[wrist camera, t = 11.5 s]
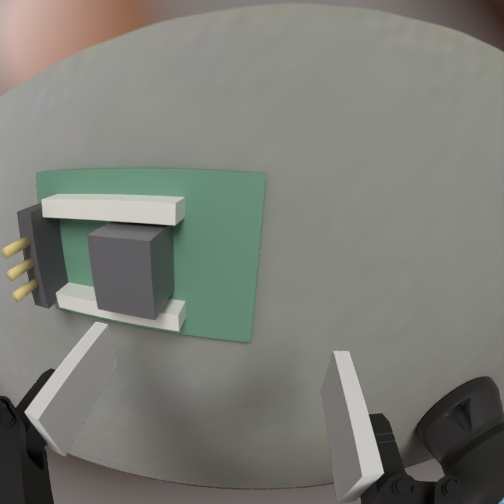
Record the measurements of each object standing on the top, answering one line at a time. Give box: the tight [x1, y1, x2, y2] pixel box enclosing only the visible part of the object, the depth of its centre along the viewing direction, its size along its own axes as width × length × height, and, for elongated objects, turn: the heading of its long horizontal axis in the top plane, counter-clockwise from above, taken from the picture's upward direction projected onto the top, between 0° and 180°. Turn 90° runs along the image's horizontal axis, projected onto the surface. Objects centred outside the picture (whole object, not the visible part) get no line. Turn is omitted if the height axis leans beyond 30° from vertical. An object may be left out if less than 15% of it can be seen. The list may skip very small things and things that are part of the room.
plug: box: [87, 221, 175, 320], centre depth 21 cm, size 6×5×5 cm
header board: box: [2, 168, 266, 342], centre depth 20 cm, size 15×22×8 cm
